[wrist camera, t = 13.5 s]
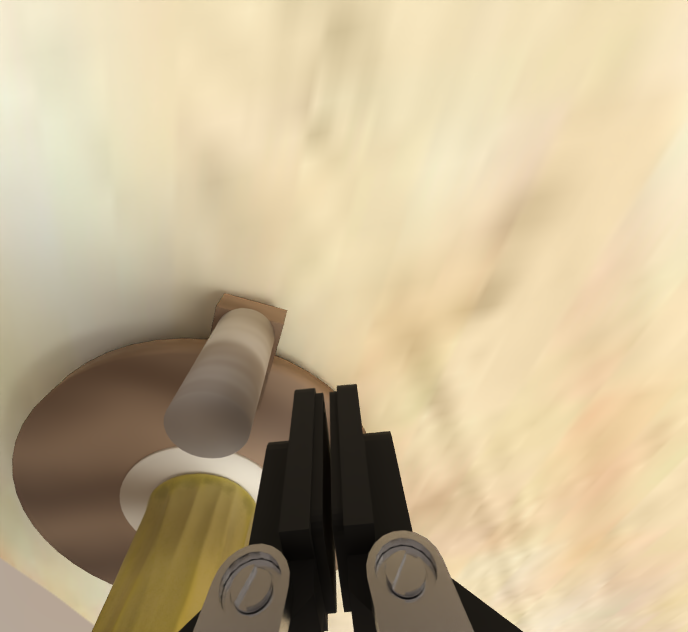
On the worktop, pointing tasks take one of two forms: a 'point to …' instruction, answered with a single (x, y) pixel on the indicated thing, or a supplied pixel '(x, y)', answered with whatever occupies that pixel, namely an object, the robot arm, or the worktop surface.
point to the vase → (177, 553)
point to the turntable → (154, 429)
